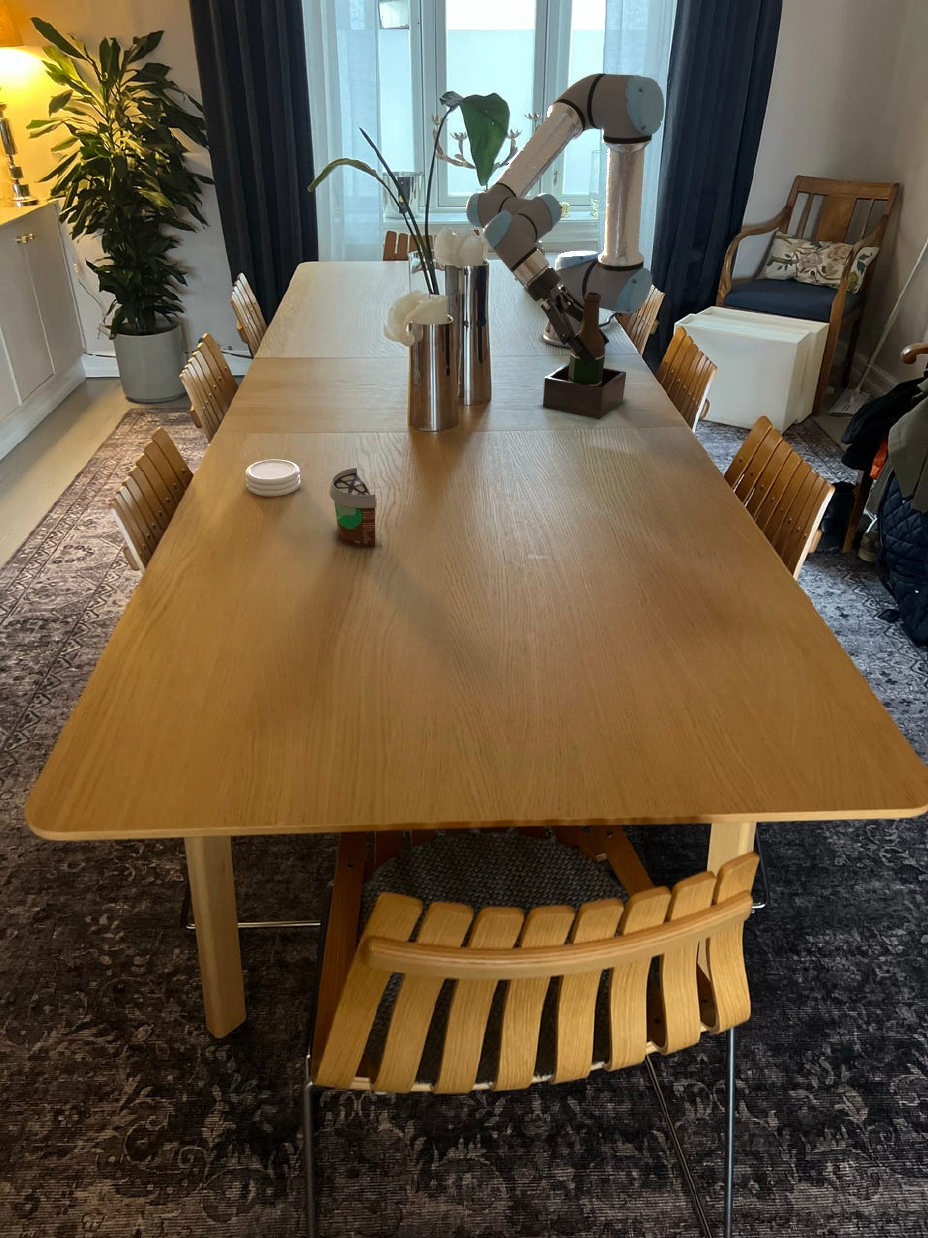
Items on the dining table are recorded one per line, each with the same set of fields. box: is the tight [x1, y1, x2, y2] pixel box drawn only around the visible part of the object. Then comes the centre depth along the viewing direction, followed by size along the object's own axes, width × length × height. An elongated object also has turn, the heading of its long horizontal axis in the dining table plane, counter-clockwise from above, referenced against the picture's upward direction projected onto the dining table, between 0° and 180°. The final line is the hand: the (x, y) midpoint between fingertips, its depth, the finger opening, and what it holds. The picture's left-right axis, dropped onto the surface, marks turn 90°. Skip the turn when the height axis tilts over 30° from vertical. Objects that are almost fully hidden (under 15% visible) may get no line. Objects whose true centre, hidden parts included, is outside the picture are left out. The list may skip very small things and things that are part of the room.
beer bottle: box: [568, 292, 606, 388], centre depth 214 cm, size 8×8×24 cm
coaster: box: [244, 459, 301, 498], centre depth 179 cm, size 10×10×4 cm
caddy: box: [542, 362, 627, 420], centre depth 219 cm, size 14×14×7 cm
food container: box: [328, 467, 377, 548], centre depth 161 cm, size 12×6×10 cm, turn 21°
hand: (598, 353), depth 214 cm, fingers open, 13 cm apart
